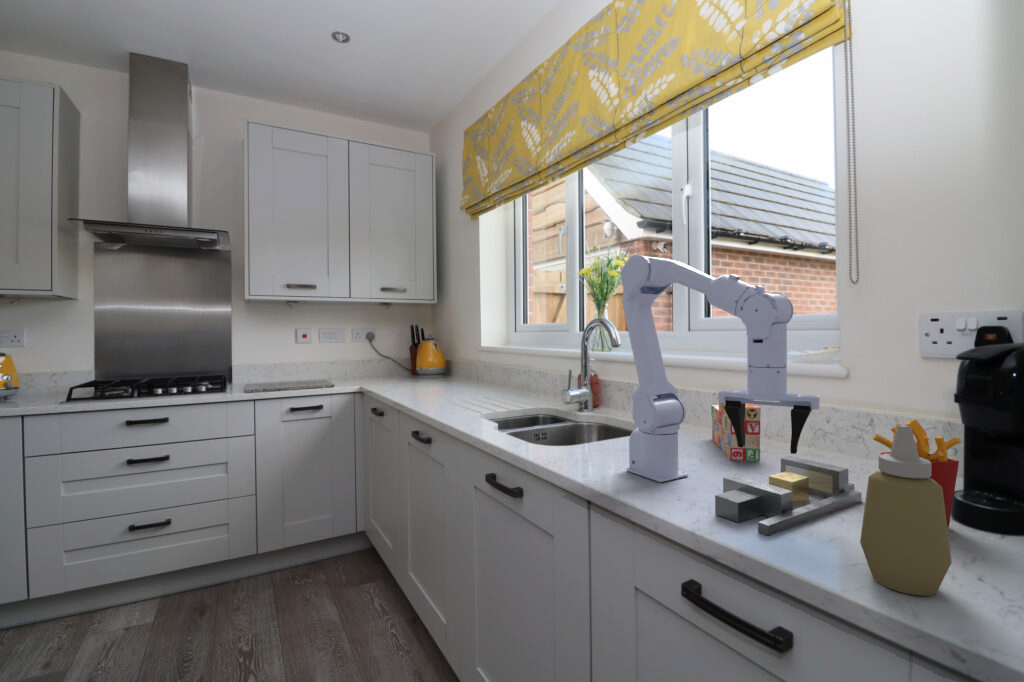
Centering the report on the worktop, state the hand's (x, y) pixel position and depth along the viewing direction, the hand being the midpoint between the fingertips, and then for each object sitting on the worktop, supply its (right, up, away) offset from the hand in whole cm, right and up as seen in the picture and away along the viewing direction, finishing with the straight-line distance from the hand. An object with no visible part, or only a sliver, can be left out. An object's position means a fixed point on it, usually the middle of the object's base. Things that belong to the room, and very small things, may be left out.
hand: (766, 449), depth 79 cm
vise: (+3, -9, +1) cm, 10 cm away
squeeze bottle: (+3, -10, -24) cm, 26 cm away
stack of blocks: (+12, -9, +37) cm, 40 cm away
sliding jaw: (-5, -9, -3) cm, 11 cm away
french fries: (+18, -10, -6) cm, 21 cm away
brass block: (+5, -9, +3) cm, 11 cm away
